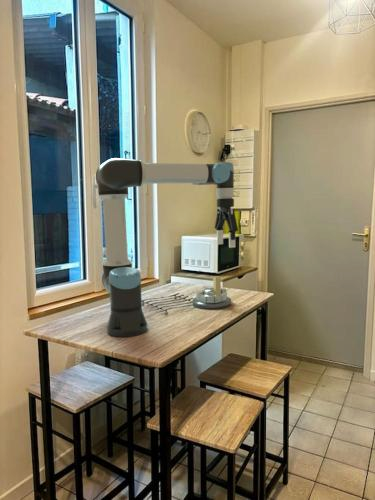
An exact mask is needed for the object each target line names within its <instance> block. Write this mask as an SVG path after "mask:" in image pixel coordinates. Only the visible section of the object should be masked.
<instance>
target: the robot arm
mask: <svg viewBox="0 0 375 500" xmlns="http://www.w3.org/2000/svg"><path fill="white" fill-rule="evenodd" d="M234 174H235V172H234V164H233V162H231V161H221V162H220V161H219V162H217V163H174V162H173V163H172V162H171V163H170V162H169V163H168V162H160V163H159V162H143V161H142V160H140V159H127V158H119V157H118V158H117V157H114V158H110V159H107V160H106V161H104V162H103V163H101V164H100V165H99V166H98V168H97V170H96V172H95V181H96V184H97V189H98V190H97V193H98V197H99V198H100V199H101V200H102V208H103V209H102V211H103V224H104V241H105V244H104V245H105V257H106V259H105V261H104V262H103V263H102V271H103V273H102V275H101V276H102V277H101V282H102V286H103V287H104V289H105V291H106V292H108V293H109V301H110V314H109V318H108V321H107V326H106V333H107V334H108V335H109V336H113V337H119V338H121V337H122V338H123V337H124V338H125V337H134V336H138V335H142V334H144V333H146V332H147V330H148V321H147V320H146V319H147V318H146V317H145V314H144V312H143V308H142V307H143V303H142V302H143V301H142V277H141V272H140V270H138V269H137V268H135V267H133V263H132V260H131V259H129V255H128V254H129V253H128V239H127V237H128V236H127V222H126V221H127V219H126V217H127V215H126V201H125V200H126V198H127V197H128V196H129V188H132V187H133V188H134V187H142V186H143V185H144V184H145V185H146V184H148V185H149V184H152V185H153V184H158V185H159V184H162V185H163V184H192V185H196V186H201V185H203V186H205V185H206V186H207V185H208V186H209V185H210V186H211V185H216V198H217V199H216V208H217V209H216V219H215V223H214V229H216V245H224V224H225V223H226V224H227V227H228V247H229V249H231V248H236V232H238V231H239V228H238V223H237V219H236V214H235V213H236V212H235V209H234V206H235V199H234V196H235V194H234V193H235V190H234V189H235V188H234V183H235V182H234V181H235V179H234V178H235V177H234V176H235V175H234ZM225 221H226V222H225Z"/></svg>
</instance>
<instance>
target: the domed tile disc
mask: <svg viewBox="0 0 375 500" xmlns="http://www.w3.org/2000/svg"><path fill="white" fill-rule="evenodd" d="M212 280H213V281H212V282H213V288H214V295H204V289H206V288H209V286H207V287H206V286H205V287H203V289H201V290H197V291H196V295H195V296H196V297H195V298H196V300H197V301H199V302H204V303H219V302H224V301H226V300H227V297H228V292H227V288H224V287H223V288H222V287H221V284H222V283H221V281H222V280H221V276H218V275H217V276H213V279H212Z"/></svg>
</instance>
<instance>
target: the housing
mask: <svg viewBox="0 0 375 500" xmlns="http://www.w3.org/2000/svg"><path fill="white" fill-rule="evenodd" d="M203 290H204V295H214V287H208V288H206V289H204V288H203ZM192 306H193V307H194V308H196V309H197V308H198V309H202V310H222V309H226V308H229V307H230V306H232V299H231V298H230V297H229V296H227V300H226V301H224V302H219V303H204V302H199V301H197V300H196V297H194V298H193V299H192Z"/></svg>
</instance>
